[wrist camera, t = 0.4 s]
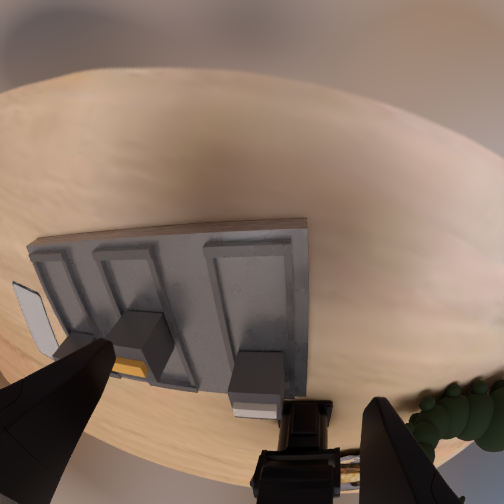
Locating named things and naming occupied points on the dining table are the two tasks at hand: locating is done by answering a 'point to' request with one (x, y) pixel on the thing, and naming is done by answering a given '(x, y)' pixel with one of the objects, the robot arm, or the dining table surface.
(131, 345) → the breaker mid
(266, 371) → the block
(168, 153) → the dining table surface
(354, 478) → the food plate
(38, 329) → the smartphone
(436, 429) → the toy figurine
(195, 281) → the panel
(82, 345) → the breaker
